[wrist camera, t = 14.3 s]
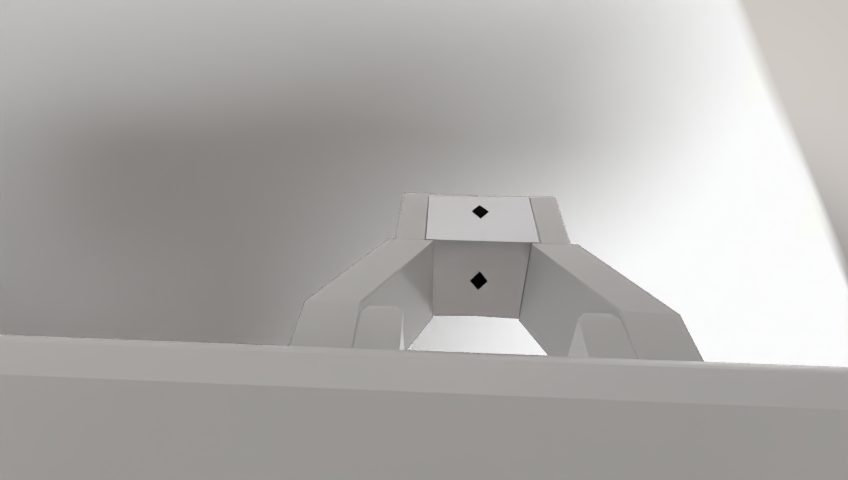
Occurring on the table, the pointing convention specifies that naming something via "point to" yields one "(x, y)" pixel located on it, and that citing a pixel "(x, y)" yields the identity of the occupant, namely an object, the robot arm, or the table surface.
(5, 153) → the table surface
